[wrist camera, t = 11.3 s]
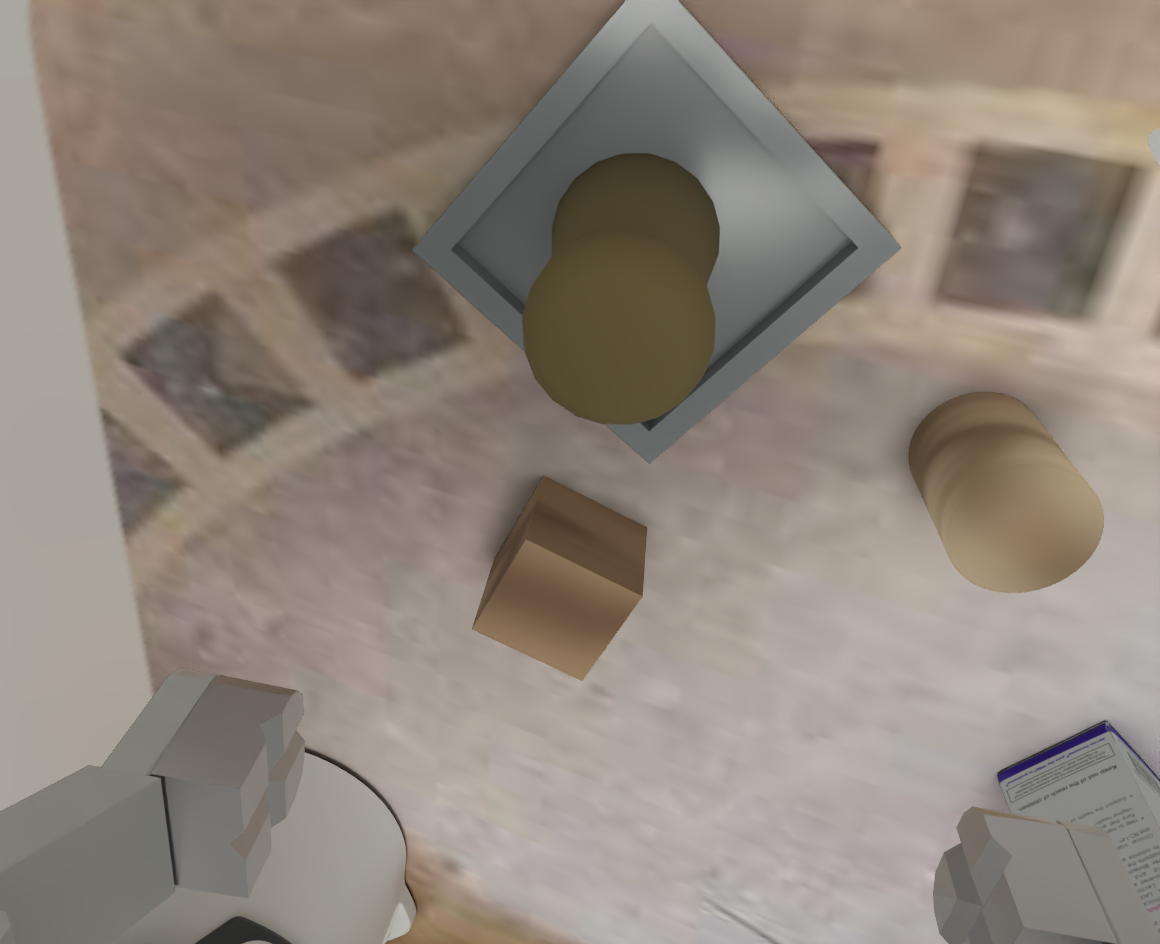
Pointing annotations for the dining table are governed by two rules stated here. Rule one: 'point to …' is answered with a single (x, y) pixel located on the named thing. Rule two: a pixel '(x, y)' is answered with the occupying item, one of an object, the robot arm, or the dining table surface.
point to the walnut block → (563, 579)
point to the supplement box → (1097, 799)
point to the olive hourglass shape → (625, 291)
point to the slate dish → (705, 149)
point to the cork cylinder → (1003, 494)
